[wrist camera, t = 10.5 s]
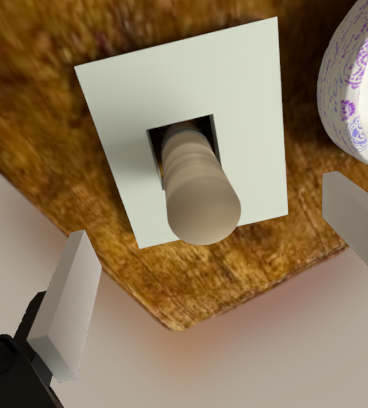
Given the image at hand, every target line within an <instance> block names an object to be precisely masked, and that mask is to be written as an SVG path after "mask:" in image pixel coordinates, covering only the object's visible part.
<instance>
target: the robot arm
mask: <svg viewBox="0 0 368 408" xmlns="http://www.w3.org/2000/svg"><path fill="white" fill-rule="evenodd" d="M322 217H323V218H324V219H325V220H326V222H327V223H328V224H329V225H330V226H331V227H332V228H333V229H334V230H335V231H336V232H337V233H338V234H339V235H340V236H341V237H342V239H343V240H344V241H345V242H346V243H347V244H348V245H349V246H350V247H351V248H352V249H353V250H354V251H355V252H356V253H357V255H358V256H359V257H360V258H361V259H362V260H363V261H364V262H365V263H366V264H367V265H368V193H367V192H366V191H364V190H363V189H361V188H360V187H359V186H357V185H356V184H355V183H353V182H352V181H350V180H349V179H348V178H346V177H345V176H344V175H342V174H341V173H340V172H338V171H334V172H329V173H325V174H323V194H322ZM101 269H102V267H101V264H100V262H99V260H98V258H97V256H96V254H95V251H94V249H93V247H92V245H91V243H90V241H89V238H88V236H87V234H86V232H85V230H81V231H77V232H72V233H71V234H70V236H69V238H68V241H67V243H66V246H65V248H64V250H63V253H62V255H61V258H60V260H59V262H58V265H57V268H56V270H55V272H54V274H53V277H52V280H51V282H50V284H49V287H48V289H47V291H43V292H39V293H37V295H36V296H35V297H34V298H33V299H32V301H31V302H30V303H29V305H28V308H27V310H26V314H24V316H23V318H22V322H21V323H20V325H19V327H18V330H17V331H16V333H15V336H14V338H12V337H11V336H10V335H8V334H1V335H0V408H64V407H63V405H62V404H61V402H60V400H59V399H58V397H57V396H56V394H55V392H54V391H53V389H52V388H51V387H50V382H51V379H52V376H54V378H55V379H56V380H57V382H58V383H63V382H67V381H71V380H76V379H78V374H79V369H80V365H81V361H82V355H83V351H84V347H85V342H86V338H87V333H88V328H89V324H90V319H91V314H92V310H93V306H94V301H95V296H96V292H97V287H98V283H99V278H100V274H101Z"/></svg>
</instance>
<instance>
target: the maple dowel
mask: <svg viewBox="0 0 368 408" xmlns="http://www.w3.org/2000/svg"><path fill="white" fill-rule="evenodd" d="M161 161H162V164H163V174H164V185H165V197H166V209H167V220H168V224H169V227H170V228H171V230H172V232H173V233H174V234H175V235H176V236H177V237H178V238H179V239H181V240H183V241H184V242H187V243H190V244H194V245H208V244H213V243H216V242H218V241H220V240H222V239H224V238H225V237H227V236H228V235H229V234H230V233H231V232H232V231H233V230H234V229H235V227H236V226H237V224H238V222H239V220H240V216H241V204H240V201H239V198H238V196H237V194H236V193H235V191H234V189H233V187H232V185H231V184H230V182H229V180H228V178H227V176H226V175H225V173H224V171H223V169H222V167H221V166H220V164H219V162H218V160H217V158H216V157H215V155H214V153H213V151H212V149H211V146H210V143H209V142H208V140H207V138H206V137H205V136H204V135H203V133H202V132H201V130H200V129H199V128H198V127H197V126H195V125H193V124H191V123H187V122H180V123H176V124H174V125H172V126H170V127H169V128H168V129H167V130H166V131H165V133H164V134H163V137H162V140H161Z"/></svg>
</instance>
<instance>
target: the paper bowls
mask: <svg viewBox="0 0 368 408" xmlns="http://www.w3.org/2000/svg"><path fill="white" fill-rule="evenodd" d="M317 103H318V111H319V115H320V117H321V121H322V124H323V126H324V129H325V131H326V132H327V134H328V135H329V137H330V138H331V139H332V141H333V142H334V143H335V144H336V145H337V146H338V147H340V148H341V149H342V150H344V151H345V152H347V153H348V154H350V155H352V156H354V157H355V158H357V159H358V160H360V161H362V162H364V163H365V164H367V165H368V0H358V1H357V2H356V3H355V4H354V6H353V7H352V8H351V10H350V11H349V12H348V14H347V15H346V16H345V18H344V19H343V21H342V22H341V23H340V25H339V26H338V28H337V29H336V31H335V33H334V35H333V37H332V39H331V41H330V42H329V46H328V48H327V49H326V51H325V54H324V57H323V60H322V64H321V67H320V71H319V76H318V82H317Z"/></svg>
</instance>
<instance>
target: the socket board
mask: <svg viewBox="0 0 368 408" xmlns="http://www.w3.org/2000/svg"><path fill="white" fill-rule="evenodd" d="M74 68H75V71H76V74H77V76H78V79H79V82H80V85H81V88H82V90H83V93H84V96H85V99H86V101H87V104H88V107H89V110H90V113H91V115H92V118H93V121H94V124H95V126H96V129H97V132H98V135H99V138H100V140H101V143H102V146H103V149H104V151H105V154H106V157H107V160H108V162H109V165H110V168H111V171H112V174H113V176H114V179H115V182H116V185H117V187H118V190H119V193H120V196H121V199H122V201H123V204H124V207H125V210H126V212H127V215H128V218H129V221H130V223H131V226H132V229H133V232H134V235H135V237H136V240H137V243H138V246H139V248H140V249H141V248H145V247H149V246H154V245H158V244H162V243H167V242H171V241H175V240H180V239H179V238H178V237H177V236H176V235H175V234H174V233H173V232H172V230H171V228H170V227H169V224H168V220H167V209H166V197H165V185H164V178H161V174H160V170H159V167H158V163H157V159H156V156H155V152H154V149H153V145H152V141H151V138H150V134H149V130H148V129H152V128H156V127H160V126H164V125H168V124H172V123H177V122H181V121H185V120H189V119H193V118H197V117H202V116H206V115H209V118H210V124H211V130H212V135H213V141H214V147H215V153H216V158H217V160H218V162H219V164H220V166H221V167H222V169H223V171H224V173H225V175H226V176H227V178H228V180H229V182H230V184H231V185H232V187H233V189H234V191H235V193H236V194H237V196H238V198H239V201H240V204H241V216H240V220H239V222H238V224H237V226H240V225H244V224H249V223H253V222H257V221H262V220H266V219H270V218H275V217H279V216H283V215H288V205H287V187H286V169H285V150H284V132H283V114H282V96H281V77H280V59H279V41H278V22H277V17H273V18H268V19H263V20H259V21H255V22H251V23H247V24H243V25H239V26H235V27H231V28H227V29H223V30H219V31H215V32H210V33H206V34H202V35H198V36H194V37H190V38H186V39H182V40H178V41H174V42H170V43H166V44H162V45H158V46H154V47H150V48H146V49H142V50H138V51H134V52H130V53H125V54H121V55H117V56H113V57H109V58H105V59H101V60H97V61H93V62H89V63H85V64H81V65H78V66H75V67H74Z"/></svg>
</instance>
